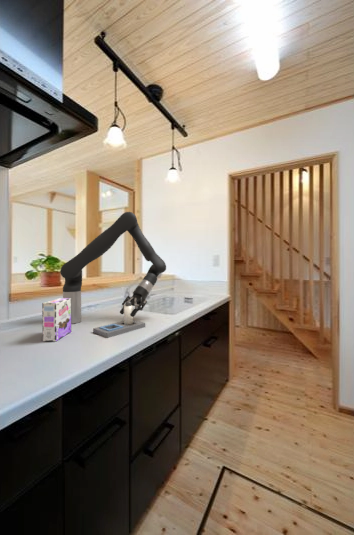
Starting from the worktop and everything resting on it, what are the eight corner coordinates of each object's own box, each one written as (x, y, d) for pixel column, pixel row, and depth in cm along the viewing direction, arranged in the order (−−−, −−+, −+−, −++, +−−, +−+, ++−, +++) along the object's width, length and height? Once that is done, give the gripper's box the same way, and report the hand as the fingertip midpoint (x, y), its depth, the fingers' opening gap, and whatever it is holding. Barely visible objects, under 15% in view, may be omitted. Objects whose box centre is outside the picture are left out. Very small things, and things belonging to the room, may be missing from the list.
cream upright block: (122, 327, 115) (122, 302, 115) (129, 325, 118) (129, 300, 118) (127, 329, 112) (127, 302, 112) (134, 327, 116) (134, 301, 115)
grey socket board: (93, 332, 107) (93, 327, 107) (130, 322, 124) (130, 318, 124) (107, 337, 99) (107, 332, 99) (145, 326, 116) (145, 321, 116)
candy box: (55, 342, 94) (55, 302, 94) (42, 341, 95) (41, 302, 94) (72, 331, 108) (71, 297, 108) (59, 331, 108) (59, 297, 108)
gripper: (130, 284, 125) (113, 308, 117) (148, 286, 116) (131, 312, 107) (138, 293, 129) (121, 316, 121) (156, 295, 120) (139, 321, 112)
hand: (126, 314), depth 114 cm, fingers open, 8 cm apart
